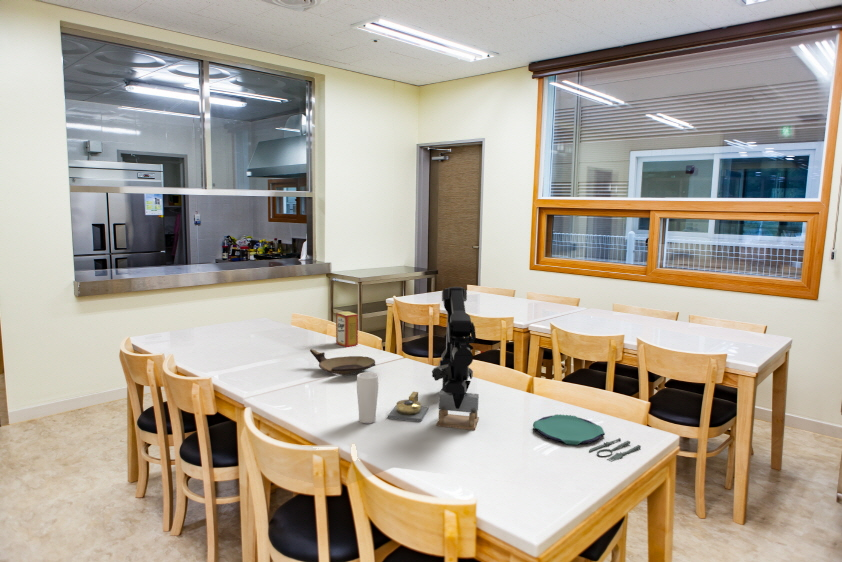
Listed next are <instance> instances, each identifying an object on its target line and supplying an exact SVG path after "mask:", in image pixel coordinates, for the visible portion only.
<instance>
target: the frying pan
mask: <svg viewBox="0 0 842 562" xmlns="http://www.w3.org/2000/svg"><path fill="white" fill-rule="evenodd" d="M309 351H310V353H311V354H312V356H313V357H314V358H315V359H316V360H317V362H318V363H319V364H318V367H319V368H320V369H321V370H324V371H325V372H328V373H331V374H334V375H340V376H349V375H350V376H351V375H354V374H355V375H356V374H360V373H362V372H364V371H366V370H368V369H370V368H372V367H375V366H376V365H377V364H376V360H375V359H374V358H372V357H370V356H369V357H368V356H360V355H352V356H351V355H349V356H338V357H331V358H326V357H325V352H322V351H321V352H318V351H317V350H315V349H313V348H310V349H309Z"/></svg>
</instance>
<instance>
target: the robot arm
mask: <svg viewBox="0 0 842 562" xmlns="http://www.w3.org/2000/svg"><path fill="white" fill-rule="evenodd" d="M467 292H468V291H467V289H466V288H464V287H462V286H450V287H448V288H447V287H446V288H443V289H442V291H441V302H442V303H443V307H444V309H445V311H446V315H447V317H446V341H445V349H444V350H443V352H442V353H441V359H440V360H439V364H438V366H435V367H434V368H433V369H432V371H431V374H432V375H431V377H432V378H433V379H434V381H439V380H441V379H442V386H441V389H440V390H439V393H440V392H441V391H444V392H446V393H452V395H453V399H454V403H455V407H456V409H459V408H460V405H461V403H462V401H463V398H464V396H465V393H468V392H467V391H468V389H469V386H470V385H471V382H472V381H471V380H472V379H473V378H474V370H473V369H472V368H471V367H469V366H470V365H472V363H473V362H474V355H473V353H472V351H471V348H470V344H475V341H476V340H477V338H476V337H477V336H476V326H475V325H474V322H472V319H471V316H470V315H469V314H468V313H466V307H465V306H466V305H465V302H467V300H468V296H467V295H468V293H467ZM468 379H470V380H468Z"/></svg>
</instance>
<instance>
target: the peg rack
mask: <svg viewBox="0 0 842 562" xmlns="http://www.w3.org/2000/svg"><path fill="white" fill-rule="evenodd" d="M468 414H469V415H464V414H463V415H461V414H452V413H449V410H439V409H438V420H437V423H436V426H437V427H443V428H450V429H451V428H453V429H462V430H471V431H475V430H476V428H477V426H478V423H479V420H480V417H479V416H478V412H477V413H468Z"/></svg>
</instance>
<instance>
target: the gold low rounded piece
mask: <svg viewBox="0 0 842 562" xmlns="http://www.w3.org/2000/svg"><path fill="white" fill-rule="evenodd" d="M396 405H397V407H396V410H397V412H398V413H401V414H406V415H412V414H417V413H419V412H420V411H421V406H422V403H421V402H420V401H419V391H412V393H410V394H409V396H408V399H401V400H399V401H397V402H396Z"/></svg>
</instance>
